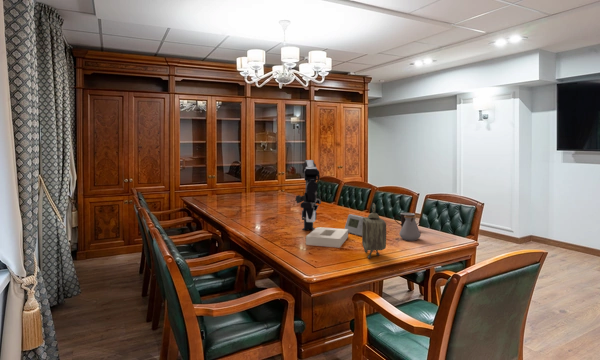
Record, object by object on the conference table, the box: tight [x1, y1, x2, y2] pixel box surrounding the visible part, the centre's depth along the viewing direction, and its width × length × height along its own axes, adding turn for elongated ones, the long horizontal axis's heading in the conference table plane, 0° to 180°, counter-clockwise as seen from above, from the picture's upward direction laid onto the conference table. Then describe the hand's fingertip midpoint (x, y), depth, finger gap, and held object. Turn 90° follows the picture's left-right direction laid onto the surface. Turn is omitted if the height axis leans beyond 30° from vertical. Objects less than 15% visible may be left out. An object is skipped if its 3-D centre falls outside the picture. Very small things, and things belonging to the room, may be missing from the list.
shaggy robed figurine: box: [361, 202, 387, 260], centre depth 176 cm, size 14×9×25 cm, turn 178°
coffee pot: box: [399, 215, 422, 242], centre depth 204 cm, size 21×12×15 cm, turn 167°
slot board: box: [305, 226, 349, 249], centre depth 205 cm, size 24×18×4 cm
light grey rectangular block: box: [306, 210, 316, 223], centre depth 207 cm, size 4×4×6 cm
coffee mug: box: [393, 212, 416, 228], centre depth 234 cm, size 12×9×10 cm
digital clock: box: [344, 213, 364, 237], centre depth 222 cm, size 16×9×11 cm, turn 22°
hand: (310, 218), depth 207 cm, fingers closed on light grey rectangular block, 4 cm apart
